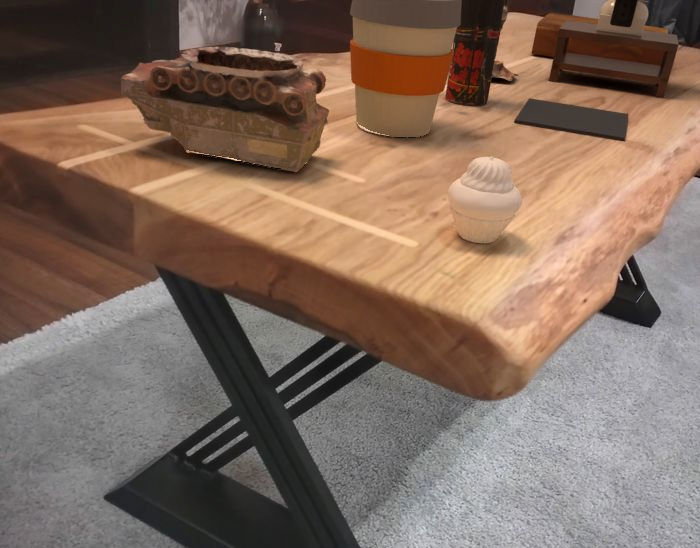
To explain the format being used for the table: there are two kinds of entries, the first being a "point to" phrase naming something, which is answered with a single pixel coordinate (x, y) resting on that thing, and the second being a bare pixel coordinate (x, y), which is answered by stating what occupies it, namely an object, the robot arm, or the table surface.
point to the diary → (590, 42)
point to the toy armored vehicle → (233, 104)
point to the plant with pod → (498, 67)
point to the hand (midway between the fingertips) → (621, 22)
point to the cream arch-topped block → (605, 26)
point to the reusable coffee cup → (401, 62)
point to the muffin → (484, 200)
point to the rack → (614, 66)
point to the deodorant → (474, 52)
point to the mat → (574, 119)
